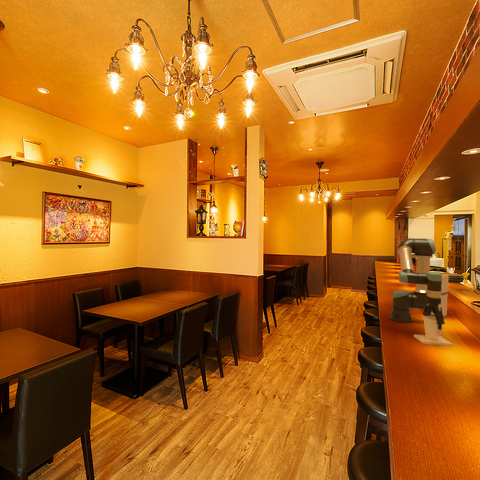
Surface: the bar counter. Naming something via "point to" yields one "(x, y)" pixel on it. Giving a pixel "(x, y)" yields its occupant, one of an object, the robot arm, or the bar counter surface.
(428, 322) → the foam cup
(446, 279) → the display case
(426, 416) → the bar counter surface
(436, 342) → the tile
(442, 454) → the bar counter surface
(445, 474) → the bar counter surface
